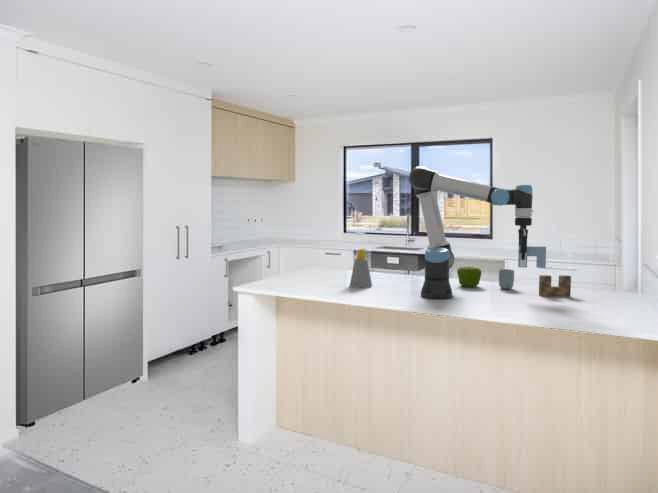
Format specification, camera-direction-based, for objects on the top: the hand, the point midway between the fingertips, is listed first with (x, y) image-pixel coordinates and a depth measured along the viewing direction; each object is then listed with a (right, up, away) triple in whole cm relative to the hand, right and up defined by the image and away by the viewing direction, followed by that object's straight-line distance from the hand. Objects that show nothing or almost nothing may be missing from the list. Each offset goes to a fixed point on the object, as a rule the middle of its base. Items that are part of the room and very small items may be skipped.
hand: (522, 265), depth 242 cm
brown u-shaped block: (+17, -15, +4) cm, 23 cm away
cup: (+1, -13, +24) cm, 28 cm away
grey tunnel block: (+4, -1, -1) cm, 4 cm away
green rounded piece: (-17, -13, +32) cm, 39 cm away
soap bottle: (-76, -13, +33) cm, 84 cm away
